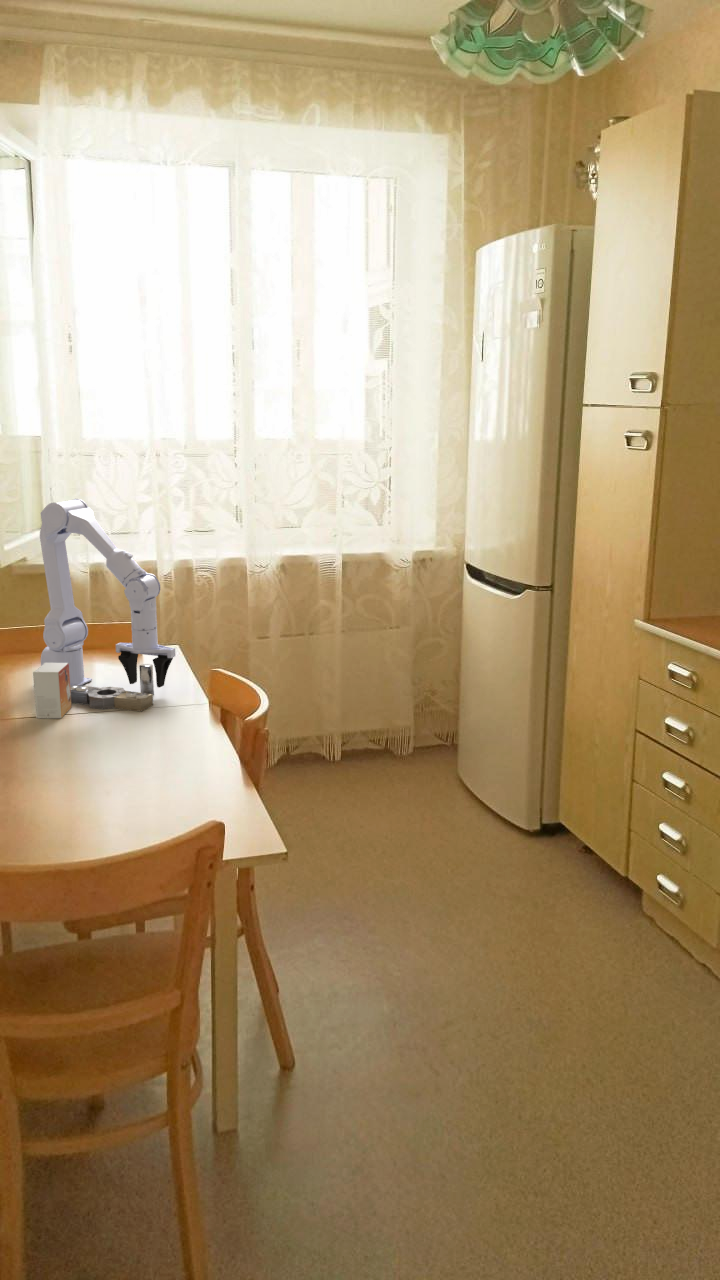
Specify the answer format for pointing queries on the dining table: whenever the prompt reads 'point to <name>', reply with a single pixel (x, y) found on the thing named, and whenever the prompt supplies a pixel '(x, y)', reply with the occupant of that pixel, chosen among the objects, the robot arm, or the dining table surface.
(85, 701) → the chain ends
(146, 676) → the pin
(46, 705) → the small box
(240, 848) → the dining table surface
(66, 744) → the dining table surface
